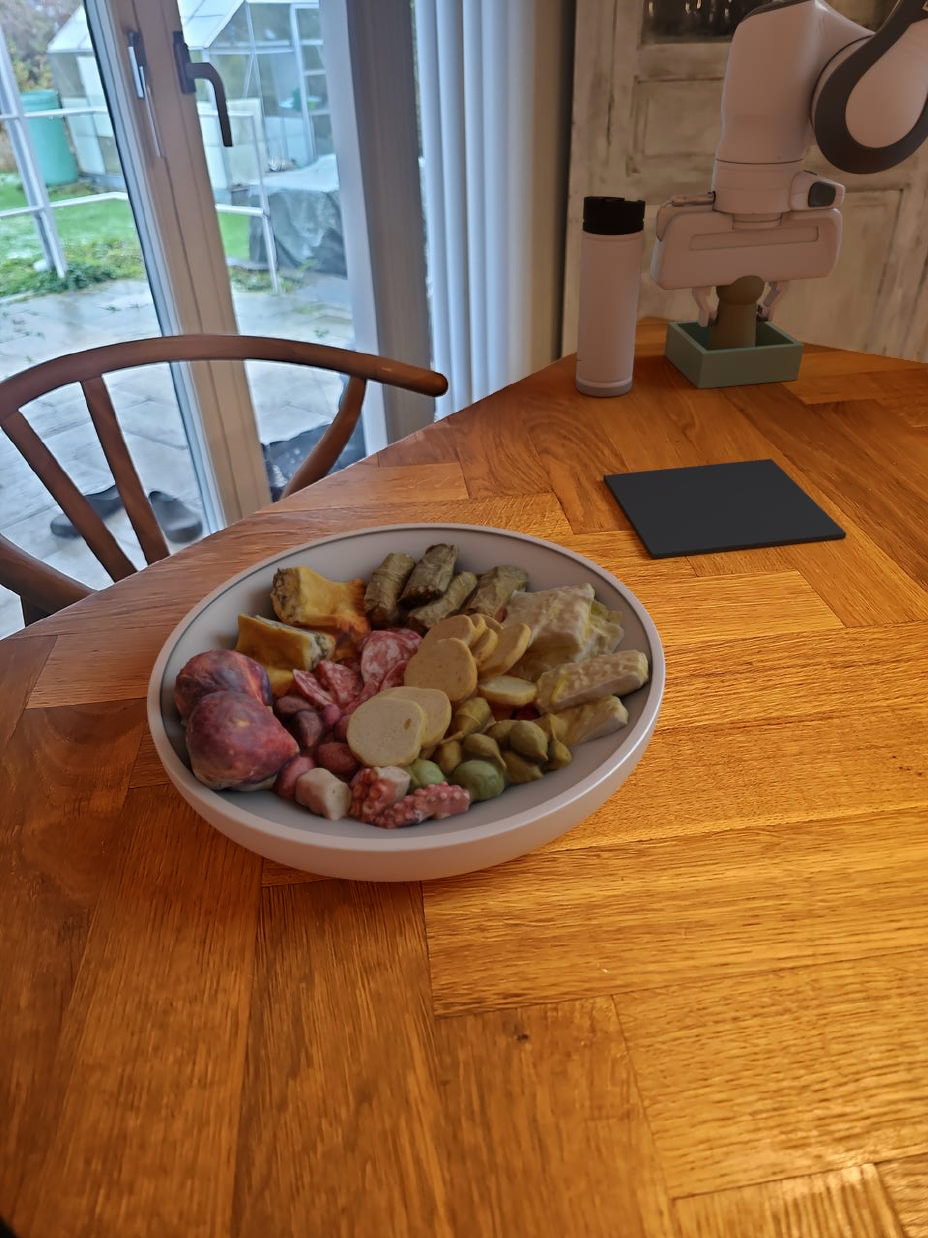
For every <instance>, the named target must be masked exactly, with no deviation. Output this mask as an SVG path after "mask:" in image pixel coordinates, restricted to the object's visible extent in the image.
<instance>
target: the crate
mask: <svg viewBox="0 0 928 1238" xmlns="http://www.w3.org/2000/svg"><path fill="white" fill-rule="evenodd" d="M711 329H712V326H709V327H701V326H700V325H699V324H698V319H692V320H680V321H679V320H678V321H668V322H667V324H666V336H665V343H664V354H663V356H664V357H666V359H667V360H669V361H670V362H671V364H673V365H674V367H676V368H677V370H678V371H680V372H681V374H683V376H684V377H686V378H687V379H688V380H689V382H691V383H692V384H693V386H695V387H696V389H698V390H702V389H712V388H723V387H725V388H726V387H736V386H747V385H757V384H768V383H769V384H770V383H779V382H781V383H782V382H791V381H797V380H798V377H799V372H800V368H801V362H802V358H803V352H804V348H805V344H804V343H802V342H800V341H799V340H797V339H796V338H795V337H793V336H792V335H791V334H789V333H787V332H786V331H784V330H783V329H782V328H780V327H779V326H777V325H776V324H775V323H773V322H772V321H770V322H758V321H756V337H755V347H747V348H736V349H724V350H713V351H706V348H707V344H708V340H709V337H710V333H711Z"/></svg>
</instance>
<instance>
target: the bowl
mask: <svg viewBox="0 0 928 1238" xmlns="http://www.w3.org/2000/svg"><path fill="white" fill-rule="evenodd" d="M662 643H663V642H662V640H661V637H660V634H659V631H658V628H657V627H656V625H655V623H654V621H653V619H652V617H651V615H650V614H649V612H648V611H647V609H646V608H645V606H644V605H643V604H642V602H641V601H640V600H639V599H638V598H637V596H636V595H635V594H634V593H633V592H632V591H631V590H630V589H629V587H627V586H626V585H625V584H624V583H623V582H622V581H621V580H620V579H618V578H617V577H616V576H615V575H613V574H612V573H611V572H609V571H608V570H606V569H605V568H603V567H602V566H601V565H599V564H597V563H595V562H594V561H593V560H591V559H589V558H587V557H585V556H584V555H582V554H579V553H577V552H576V551H573V550H571V549H569V548H568V547H564V546H562V545H560V544H557V543H554V542H552V541H549V540H546V539H544V538H541V537H540V538H539V537H537V536H533V535H529V534H527V533H523V532H518V531H514V530H509V529H504V528H499V527H493V526H487V525H479V524H469V523H457V522H410V523H409V522H407V523H395V524H386V525H385V524H384V525H378V526H371V527H363V528H359V529H358V528H357V529H353V530H347V531H343V532H340V533H335V534H331V535H326V536H323V537H320V538H317V539H313V540H310V541H307V542H304V543H300V544H298V545H295V546H292V547H290V548H287V549H285V550H282V551H280V552H276V553H275V554H273V555H270V556H268V557H266V558H263V559H262V560H260V561H258V562H256V563H254V564H252V565H250V566H249V567H246V568H245V569H243V570H241V571H240V572H238V573H236V574H235V575H233V576H231V577H230V578H228V579H227V580H226V581H224V582H222V583H221V584H220V585H218V586H217V587H216V588H214V589H213V590H212V591H210V592H209V593H208V594H206V595H205V596H204V597H203V598H202V599H200V600H199V602H197V603H196V604H195V605H194V606H193V607H192V608H191V609H190V610H189V611H188V612H187V613H186V614H185V615H184V616H183V617H182V618H181V620H180V621H179V622H178V624H176V626H175V627H174V629H173V630H172V632H171V633H170V634H169V636H168V637H167V639H166V641H165V642H164V644H163V645H162V647H161V649H160V651H159V653H158V655H157V657H156V660H155V661H154V664H153V668H152V671H151V673H150V678H149V681H148V686H147V694H146V713H147V722H148V726H149V731H150V735H151V738H152V741H153V744H154V748H155V749H156V752H157V755H158V757H159V759H160V762H161V763H162V766H163V769H164V771H165V772H166V774H167V775H168V777H169V779H170V781H171V782H172V784H173V785H174V786H175V788H176V790H177V791H178V792H179V794H180V795H181V796H182V797H183V799H184V800H185V801H186V802H187V803H188V804H189V806H191V808H192V809H193V810H194V811H195V812H196V813H197V814H198V815H199V816H201V818H202V819H203V820H204V821H206V822H207V823H208V824H209V825H211V826H212V827H213V828H215V830H217V831H218V832H220V833H221V834H223V835H224V836H225V837H226V838H228V839H230V840H231V841H233V842H235V843H236V844H238V845H240V846H242V847H243V848H244V849H247V850H249V851H250V852H253V853H255V854H256V855H259V856H261V857H263V858H266V859H268V860H271V861H273V862H275V863H278V864H280V865H283V866H286V867H290V868H293V869H296V870H299V871H302V872H306V873H311V874H315V875H319V876H324V877H330V878H335V879H342V880H350V881H361V882H374V883H375V882H376V883H377V882H379V883H380V882H381V883H382V882H384V883H386V882H387V883H388V882H389V883H390V882H391V883H397V882H417V881H427V880H435V879H441V878H442V879H443V878H449V877H455V876H459V875H464V874H468V873H469V874H470V873H473V872H476V871H480V870H483V869H487V868H492V867H495V866H497V865H500V864H503V863H506V862H510V861H512V860H514V859H517V858H519V857H522V856H524V855H527V854H529V853H531V852H533V851H536V850H537V849H539V848H542V847H544V846H546V845H547V844H550V843H551V842H553V841H555V840H557V839H558V838H560V837H561V836H563V835H564V834H566V833H568V832H570V831H571V830H573V829H575V827H577V826H579V825H580V824H581V823H582V822H584V821H585V820H586V819H588V818H589V817H590V816H592V815H593V814H594V813H595V812H596V811H598V810H599V809H600V808H601V807H602V806H603V805H604V804H605V803H607V801H608V800H609V799H610V798H611V797H613V796H614V794H615V793H616V792H617V791H618V790H619V789H620V788H621V787H622V785H624V784H625V782H626V781H627V779H628V778H629V776H630V775H631V774H632V772H633V771H634V769H635V768H636V767H637V766H638V764H639V762H640V761H641V759H642V758H643V756H644V754H645V752H646V750H647V748H648V746H649V744H650V742H651V740H652V738H653V735H654V732H655V730H656V727H657V724H658V721H659V718H660V714H661V710H662V704H663V699H664V694H665V693H664V692H665V685H666V658H665V652H664V649H663V644H662Z"/></svg>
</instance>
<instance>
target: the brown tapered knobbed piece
mask: <svg viewBox="0 0 928 1238" xmlns="http://www.w3.org/2000/svg"><path fill="white" fill-rule="evenodd" d="M765 286H766V282H763V280H762V279H761V278H760V277H758V276H754V275H749V276H743V277H740V278H738V279H737V280H735V281H734V282H733V283H732V284H730V285H724V286H715V294H716V296H717V298H718V303H717V307H716V310H717V317H716V319H715V320H716V325H715V326H712V329H711V333H710V337H709V340H708V344H707V348H706V351H713V350H724V349H736V348H747V347H755V337H756V305H757V303H758V301H759V299H761V297H762V295H763V293H764V291H765Z"/></svg>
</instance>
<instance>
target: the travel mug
mask: <svg viewBox="0 0 928 1238" xmlns="http://www.w3.org/2000/svg"><path fill="white" fill-rule="evenodd" d="M645 217H646V201H645V200H642V199H637V200H635V201H634V200H626V197H620V196H619V197H618V196H605V195H603V196H602V195H590V196H584V197H583V209H582V220H583V221H582V228H581V235H582V236H581V242H580V243H581V244H580V264H579V265H580V267H579V268H580V269H579V290H578V291H579V292H578V294H579V296H578V317H577V324H578V325H577V342H576V343H577V344H576V365H575V366H576V370H575V371H576V374H575V387H576V390H577V391H578V392H580V393H581V394H583V395H586V396H590V397H595V398H614V397H619V396H622V395H624V394H627V393H628V392H629V391H631V389H632V386H633V373H634V372H633V371H634V360H635V349H636V338H637V337H636V336H637V325H638V324H637V323H638V312H639V311H638V310H639V296H640V285H641V273H642V260H643V249H644V248H643V246H644V233H645V221H644V219H645Z"/></svg>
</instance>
